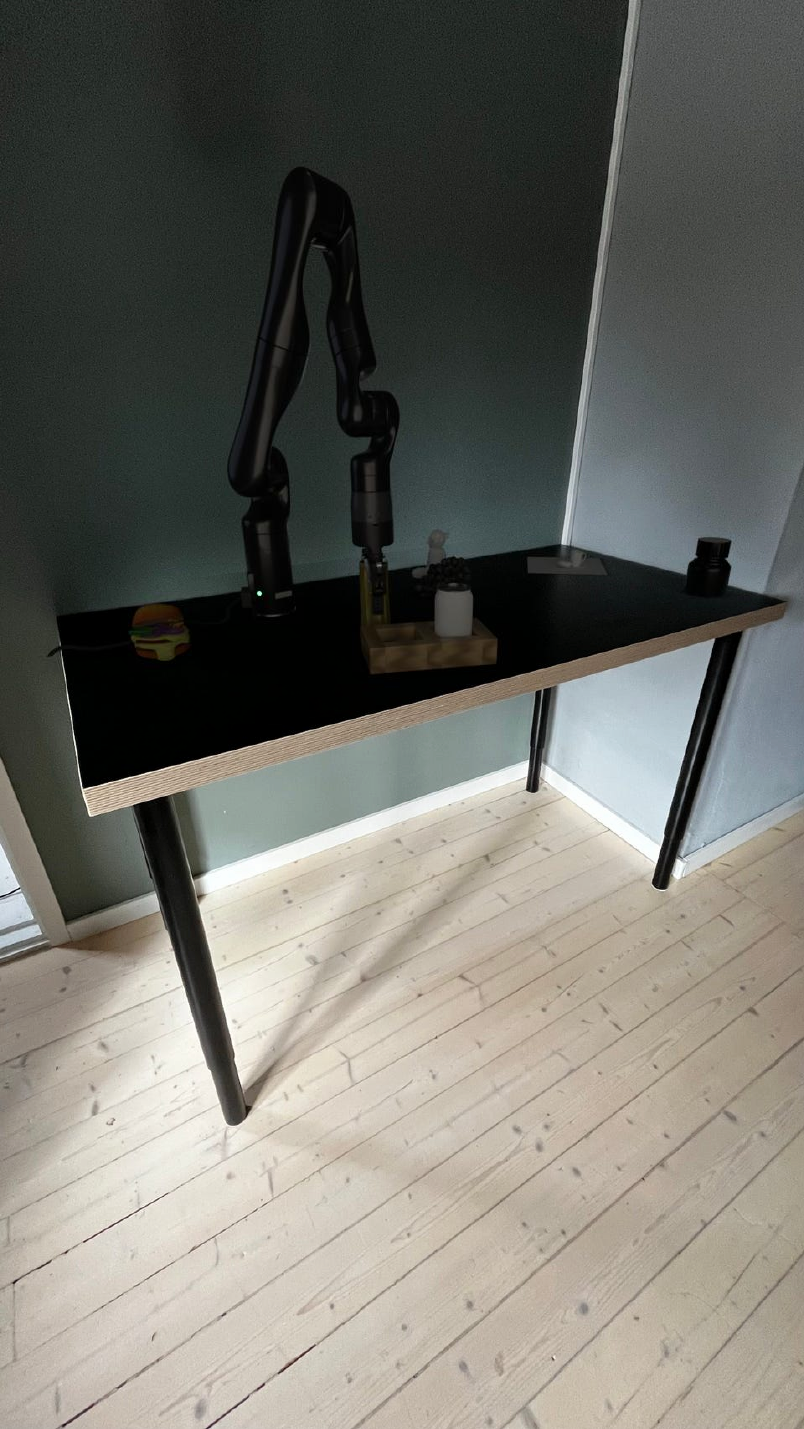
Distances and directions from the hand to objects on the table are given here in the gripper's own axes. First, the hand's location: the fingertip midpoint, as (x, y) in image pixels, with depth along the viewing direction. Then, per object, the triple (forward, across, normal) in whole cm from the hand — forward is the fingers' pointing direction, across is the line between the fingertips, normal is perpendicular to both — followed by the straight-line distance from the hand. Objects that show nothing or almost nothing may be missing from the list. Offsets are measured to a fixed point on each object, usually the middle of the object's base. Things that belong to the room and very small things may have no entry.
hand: (375, 609), depth 120 cm
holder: (+5, +13, +7) cm, 16 cm away
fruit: (+5, -26, +19) cm, 33 cm away
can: (+5, +13, +12) cm, 18 cm away
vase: (+5, 0, 0) cm, 5 cm away
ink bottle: (+5, -13, +78) cm, 79 cm away
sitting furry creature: (+5, -43, +22) cm, 49 cm away
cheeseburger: (+5, 0, -39) cm, 39 cm away
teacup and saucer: (+5, -47, +59) cm, 76 cm away
